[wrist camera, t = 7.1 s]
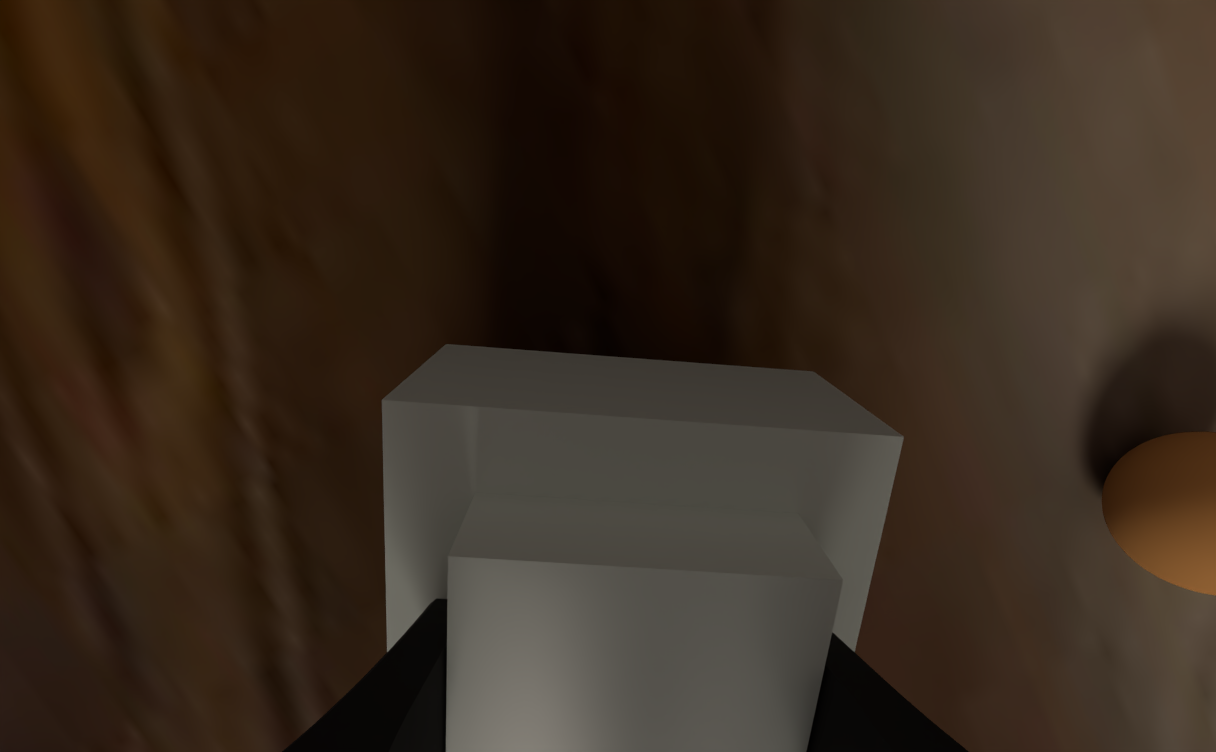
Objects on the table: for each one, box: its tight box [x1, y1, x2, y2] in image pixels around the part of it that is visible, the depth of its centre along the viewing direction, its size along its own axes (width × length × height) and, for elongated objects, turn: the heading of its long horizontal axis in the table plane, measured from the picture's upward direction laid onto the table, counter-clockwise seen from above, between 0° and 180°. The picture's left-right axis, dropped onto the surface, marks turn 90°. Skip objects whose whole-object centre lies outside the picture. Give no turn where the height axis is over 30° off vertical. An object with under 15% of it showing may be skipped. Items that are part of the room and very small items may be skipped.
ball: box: [1102, 432, 1216, 595], centre depth 18 cm, size 5×5×5 cm
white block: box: [382, 344, 904, 752], centre depth 12 cm, size 9×9×6 cm
